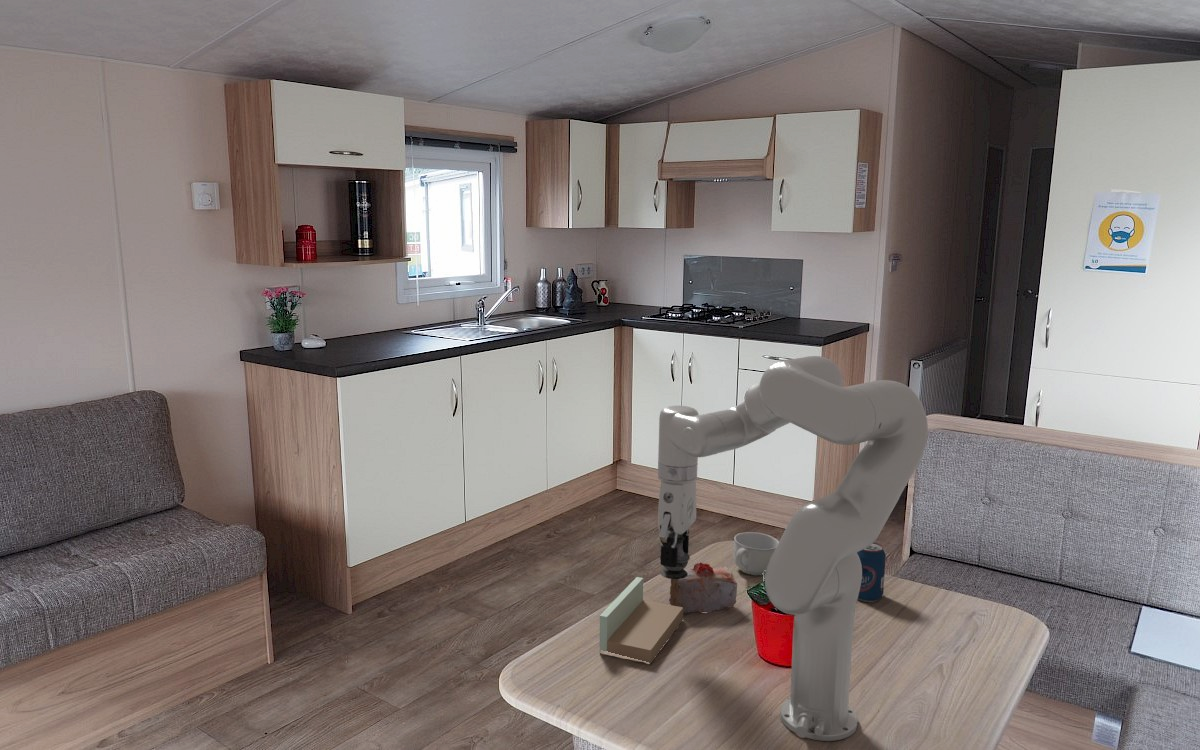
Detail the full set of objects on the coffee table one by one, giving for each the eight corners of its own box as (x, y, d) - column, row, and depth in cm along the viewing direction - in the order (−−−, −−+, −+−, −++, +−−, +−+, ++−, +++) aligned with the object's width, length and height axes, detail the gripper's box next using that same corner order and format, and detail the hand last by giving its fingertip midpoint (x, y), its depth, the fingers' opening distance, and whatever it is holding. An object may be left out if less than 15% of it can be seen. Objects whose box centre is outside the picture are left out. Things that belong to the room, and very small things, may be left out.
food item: (725, 596, 193) (726, 555, 191) (738, 612, 185) (740, 569, 183) (667, 602, 190) (667, 560, 188) (678, 618, 182) (679, 574, 180)
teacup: (752, 558, 215) (753, 528, 213) (787, 572, 206) (789, 540, 205) (714, 572, 206) (715, 541, 204) (749, 587, 198) (751, 554, 196)
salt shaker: (664, 581, 165) (666, 521, 162) (655, 568, 170) (656, 511, 168) (693, 578, 166) (695, 519, 164) (683, 566, 172) (685, 509, 169)
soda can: (846, 597, 192) (848, 546, 190) (857, 587, 198) (860, 538, 196) (876, 606, 188) (879, 554, 186) (887, 595, 194) (890, 544, 192)
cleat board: (650, 664, 163) (651, 625, 161) (599, 653, 167) (599, 615, 166) (682, 620, 181) (683, 585, 180) (636, 611, 185) (636, 576, 184)
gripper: (681, 486, 155) (678, 580, 158) (709, 461, 170) (706, 547, 174) (642, 480, 158) (640, 572, 161) (674, 457, 173) (671, 541, 177)
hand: (674, 558), depth 167 cm, fingers closed on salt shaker, 5 cm apart
